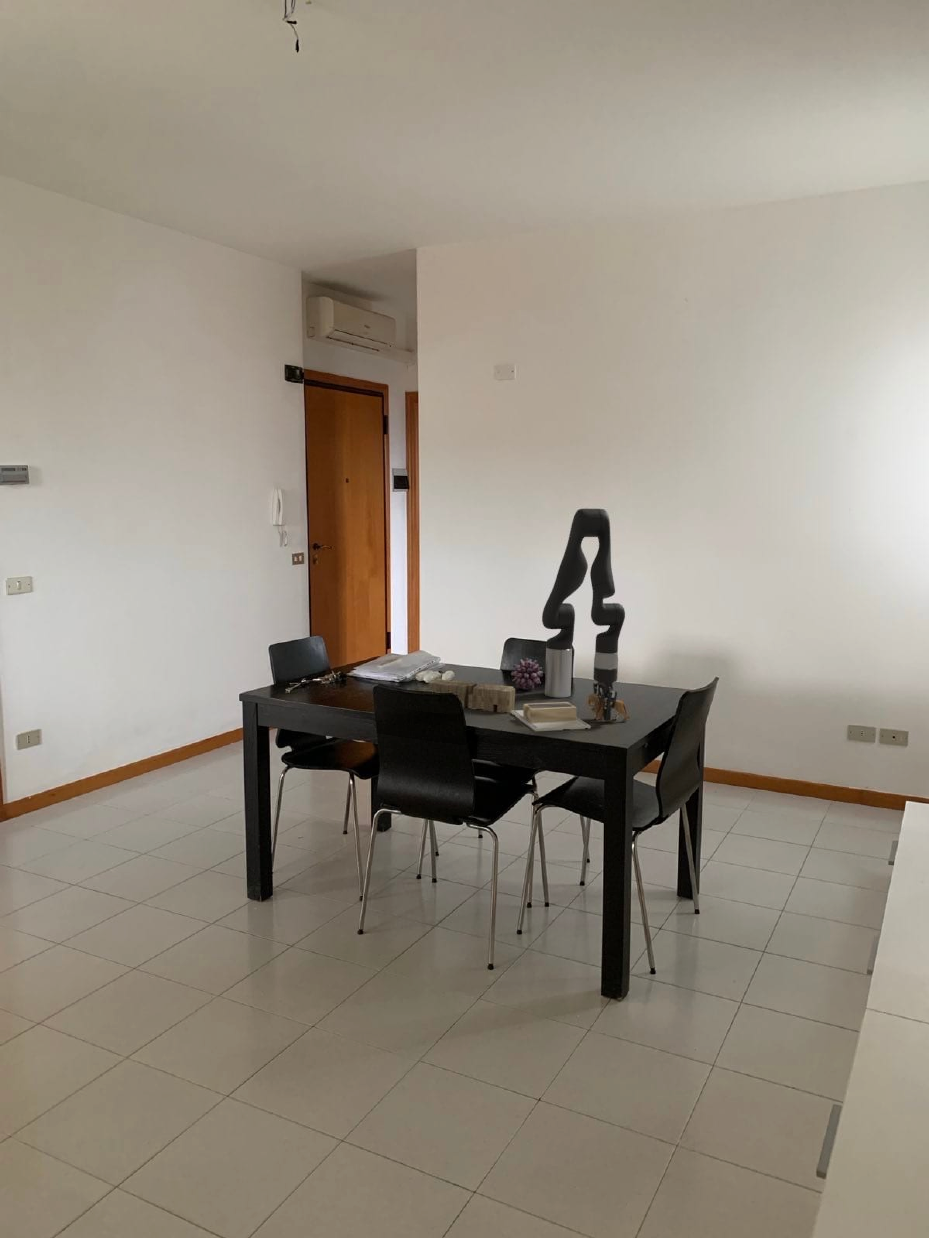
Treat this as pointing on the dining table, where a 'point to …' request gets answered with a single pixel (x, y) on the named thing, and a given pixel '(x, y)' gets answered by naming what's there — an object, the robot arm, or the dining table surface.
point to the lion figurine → (598, 707)
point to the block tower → (478, 694)
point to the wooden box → (549, 711)
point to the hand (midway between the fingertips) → (603, 718)
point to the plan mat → (551, 723)
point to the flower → (527, 674)
